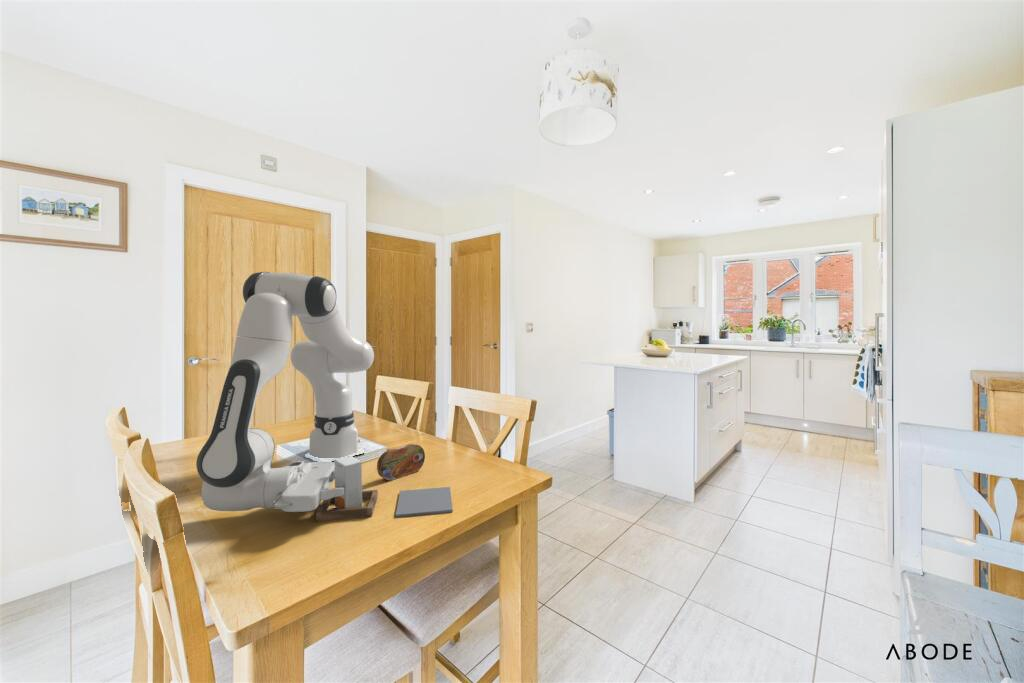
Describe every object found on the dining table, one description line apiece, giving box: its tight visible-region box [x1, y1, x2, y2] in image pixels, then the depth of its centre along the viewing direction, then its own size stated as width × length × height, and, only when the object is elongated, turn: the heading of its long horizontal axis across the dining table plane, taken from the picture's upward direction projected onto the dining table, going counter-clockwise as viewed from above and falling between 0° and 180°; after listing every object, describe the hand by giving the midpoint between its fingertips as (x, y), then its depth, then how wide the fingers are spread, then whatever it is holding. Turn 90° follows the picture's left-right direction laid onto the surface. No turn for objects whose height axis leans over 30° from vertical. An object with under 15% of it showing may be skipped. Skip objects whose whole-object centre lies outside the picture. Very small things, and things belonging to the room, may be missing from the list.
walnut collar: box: [315, 489, 379, 522], centre depth 94 cm, size 10×12×2 cm
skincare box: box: [333, 456, 363, 509], centre depth 94 cm, size 6×4×12 cm
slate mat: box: [395, 486, 454, 518], centre depth 98 cm, size 13×13×1 cm
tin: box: [376, 443, 426, 482], centre depth 115 cm, size 15×3×8 cm, turn 139°
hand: (348, 482), depth 94 cm, fingers open, 8 cm apart
